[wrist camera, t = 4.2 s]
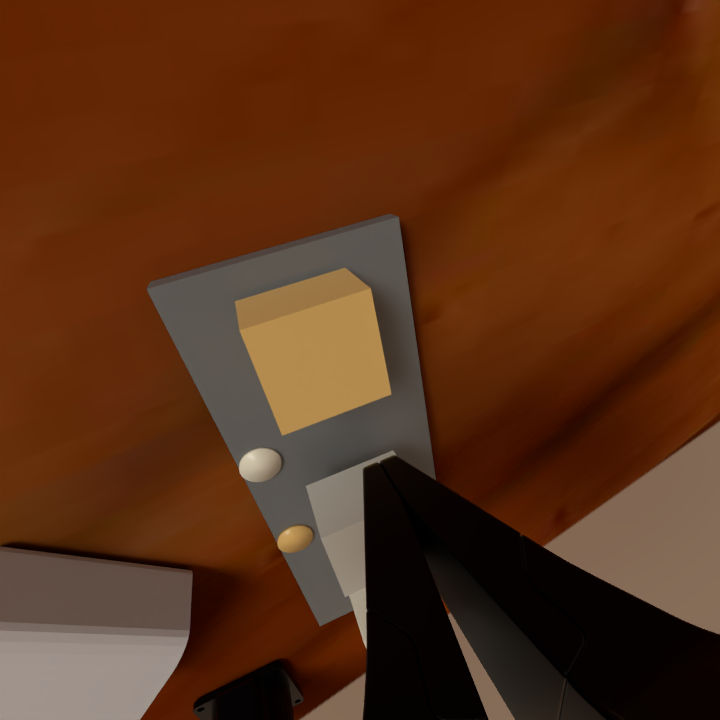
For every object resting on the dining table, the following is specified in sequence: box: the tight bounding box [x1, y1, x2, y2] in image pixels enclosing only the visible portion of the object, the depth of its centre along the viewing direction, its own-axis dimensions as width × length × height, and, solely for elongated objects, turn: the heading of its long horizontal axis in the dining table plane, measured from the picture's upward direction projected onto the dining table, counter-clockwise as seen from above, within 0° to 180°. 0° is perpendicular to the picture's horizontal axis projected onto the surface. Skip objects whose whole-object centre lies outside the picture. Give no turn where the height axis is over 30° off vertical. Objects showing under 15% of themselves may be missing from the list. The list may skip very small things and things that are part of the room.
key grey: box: [306, 451, 396, 597], centre depth 18 cm, size 4×4×3 cm
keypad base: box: [147, 214, 436, 626], centre depth 21 cm, size 25×10×1 cm, turn 12°
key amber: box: [235, 268, 391, 436], centre depth 15 cm, size 4×4×3 cm
